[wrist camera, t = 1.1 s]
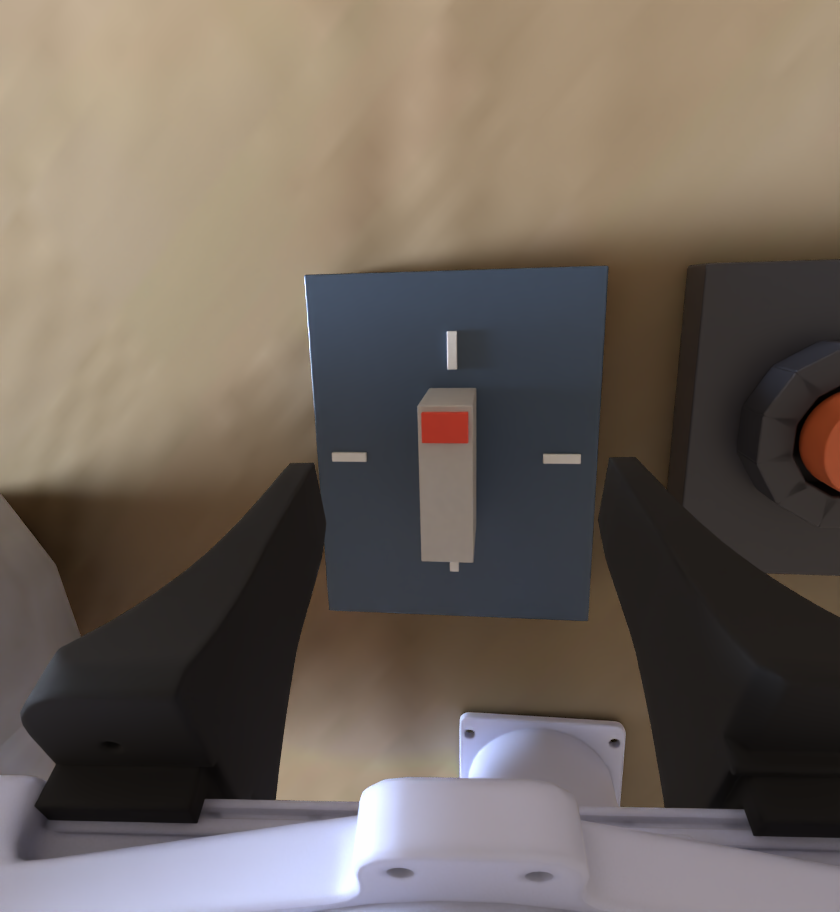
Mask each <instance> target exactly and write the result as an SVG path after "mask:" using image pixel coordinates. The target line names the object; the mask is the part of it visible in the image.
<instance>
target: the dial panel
mask: <svg viewBox="0 0 840 912" xmlns="http://www.w3.org/2000/svg"><path fill="white" fill-rule="evenodd" d="M608 268H609V267H608V266H575V267H542V268H510V269H477V270H445V271H413V272H380V273H348V274H316V275H305V276H304V279H305V292H306V306H307V319H308V333H309V346H310V359H311V373H312V386H313V400H314V413H315V426H316V440H317V453H318V467H319V480H320V493H321V499H322V503H323V508H324V513H325V518H326V531H325V539H324V547H325V561H326V574H327V587H328V601H329V610H333V611H357V612H381V613H405V614H429V615H453V616H477V617H501V618H525V619H549V620H573V621H588V614H589V596H590V579H591V562H592V545H593V527H594V510H595V493H596V476H597V458H598V441H599V424H600V406H601V389H602V372H603V355H604V337H605V320H606V303H607V285H608ZM429 388H476V534H475V547H474V560H473V563H465V562H432V561H422V560H421V525H420V488H419V451H418V413H417V406H418V405H419V403H420V402H421V400H422V399H423V397H424V396H425V394H426V393H427V391H428V390H429Z"/></svg>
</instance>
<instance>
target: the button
mask: <svg viewBox="0 0 840 912" xmlns="http://www.w3.org/2000/svg"><path fill="white" fill-rule="evenodd" d="M799 452H800V456H801V459H802V462H803V464H804V465H805V467H806V469H807V470H808V471H809V472H810V473H811V474H812V475H813V476H814V477H815V478H817V479H818V480H820V481H821V482H823V483H825V484H826V485H828V486H830V487H832V488H833V489H835V490H837V491H839V492H840V392H838V393H835V394H833V395H831V396H830V397H828V398H826V399H825V400H823V401H822V402H821V403H820V404H818V405H817V406H816V407H815V408H814V409H813V411H812V412H811V413H810V414H809V416H808V417H807V419H806V420H805V422H804V424H803V426H802V429H801V432H800V437H799Z"/></svg>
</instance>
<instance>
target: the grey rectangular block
mask: <svg viewBox="0 0 840 912" xmlns="http://www.w3.org/2000/svg"><path fill="white" fill-rule="evenodd" d="M417 413H418V451H419V488H420V525H421V560H422V561H432V562H465V563H473V560H474V547H475V534H476V388H429V390H428V391H427V393H426V394H425V396H424V397H423V399H422V400H421V402H420V403H419V405H418V406H417Z"/></svg>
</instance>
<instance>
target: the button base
mask: <svg viewBox="0 0 840 912" xmlns="http://www.w3.org/2000/svg"><path fill="white" fill-rule="evenodd" d="M838 392H840V259H830V260H797V261H765V262H732V263H706V264H699V265H691V266H688V270H687V281H686V291H685V302H684V313H683V324H682V335H681V346H680V356H679V367H678V378H677V389H676V400H675V411H674V421H673V432H672V443H671V454H670V465H669V476H668V486H667V491H668V492H669V493H670V494H671V495H672V496H673V497H674V498H675V499H676V500H677V501H678V502H679V503H680V504H681V505H682V506H683V507H685V508H686V509H687V510H688V511H689V512H690V513H691V514H692V515H693V516H694V517H695V518H696V519H697V520H698V521H699V522H700V523H702V524H703V525H704V526H705V527H706V528H707V529H708V530H710V531H711V532H712V533H713V534H714V535H715V536H717V537H718V538H719V539H720V540H721V541H723V542H724V543H725V544H726V545H728V546H729V547H730V548H731V549H733V550H734V551H735V552H737V553H738V554H739V555H741V556H742V557H743V558H745V559H746V560H747V561H749V562H750V563H752V564H753V565H754V566H756V567H757V568H758V569H760V570H761V571H763V572H764V573H771V574H803V575H835V576H840V492H839V491H837V490H835V489H833V488H832V487H830V486H828V485H826V484H825V483H823V482H821V481H820V480H818V479H817V478H815V477H814V476H813V475H812V474H811V473H810V472H809V471H808V470H807V469H806V467H805V465H804V464H803V462H802V459H801V456H800V452H799V437H800V432H801V429H802V426H803V424H804V422H805V420H806V419H807V417H808V416H809V414H810V413H811V412H812V411H813V409H814V408H815V407H816V406H817V405H818V404H820V403H821V402H822V401H823V400H825V399H826V398H828V397H830V396H831V395H833V394H835V393H838Z"/></svg>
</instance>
